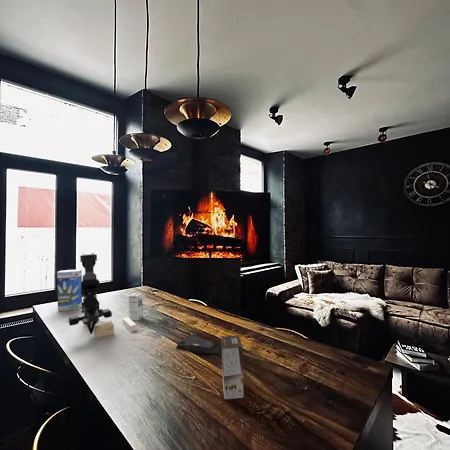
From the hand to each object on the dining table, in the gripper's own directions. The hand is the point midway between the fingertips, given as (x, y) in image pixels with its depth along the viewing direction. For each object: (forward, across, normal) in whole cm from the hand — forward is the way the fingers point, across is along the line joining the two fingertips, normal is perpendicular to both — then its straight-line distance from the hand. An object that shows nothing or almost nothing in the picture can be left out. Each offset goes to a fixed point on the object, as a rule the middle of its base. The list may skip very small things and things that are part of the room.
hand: (91, 333), depth 129 cm
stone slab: (+2, +37, -44) cm, 58 cm away
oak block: (+2, +6, 0) cm, 6 cm away
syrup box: (+2, +26, +10) cm, 28 cm away
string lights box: (+2, -3, +60) cm, 60 cm away
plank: (+2, +19, 0) cm, 19 cm away
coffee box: (+2, +29, -77) cm, 82 cm away
